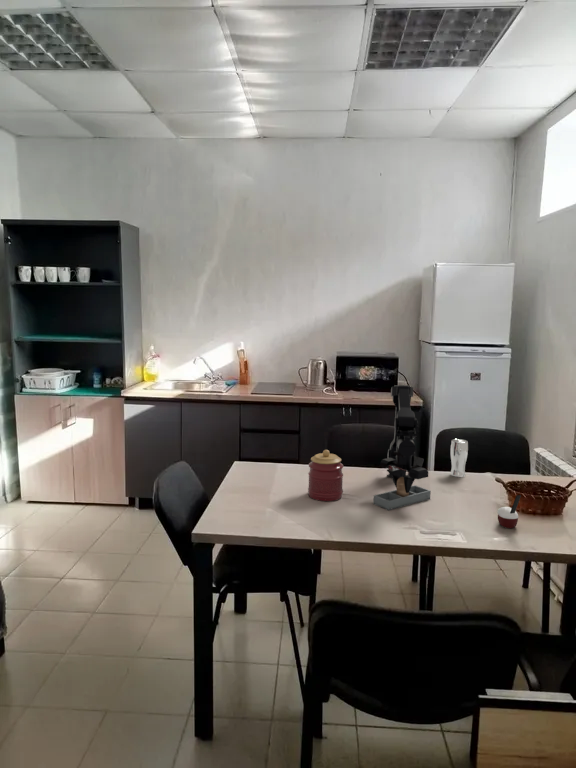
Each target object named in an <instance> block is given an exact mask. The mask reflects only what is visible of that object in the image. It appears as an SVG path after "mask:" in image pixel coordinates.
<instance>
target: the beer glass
mask: <svg viewBox="0 0 576 768" xmlns="http://www.w3.org/2000/svg"><path fill="white" fill-rule="evenodd" d="M468 451H469V442H468V440H466V439H461V438H460V439H459V438H454V439H451V444H450V460H451V461H450V463H451V470H450V473H449V474H450V476H451V477H454V478H465V477H466V471H465V470H466V464H467V463H466V462H467V459H468V455H469V454H468Z"/></svg>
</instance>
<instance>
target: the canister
mask: <svg viewBox="0 0 576 768" xmlns="http://www.w3.org/2000/svg"><path fill="white" fill-rule="evenodd" d="M341 462H342V458H341V457H339V456H338V455H337V454H334V453H330V450H328V449H324V450H323V451H322V453H321V452H320V453H317V454H314V456H312V457H311V458H310V462H309V463H308V468H309V472H308V473H307V474H308V488H307V491H308V492H307V493H308V496H309V498H311V499H313V500H315V499H316V501H321V502H332V501H338V500H340V499H341V498H342V496H343V495H344V494H343V491H344V490H343V482H344V481H343V480H344V479H343V477H344V473H343V468H344V464H343V463H341Z"/></svg>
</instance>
